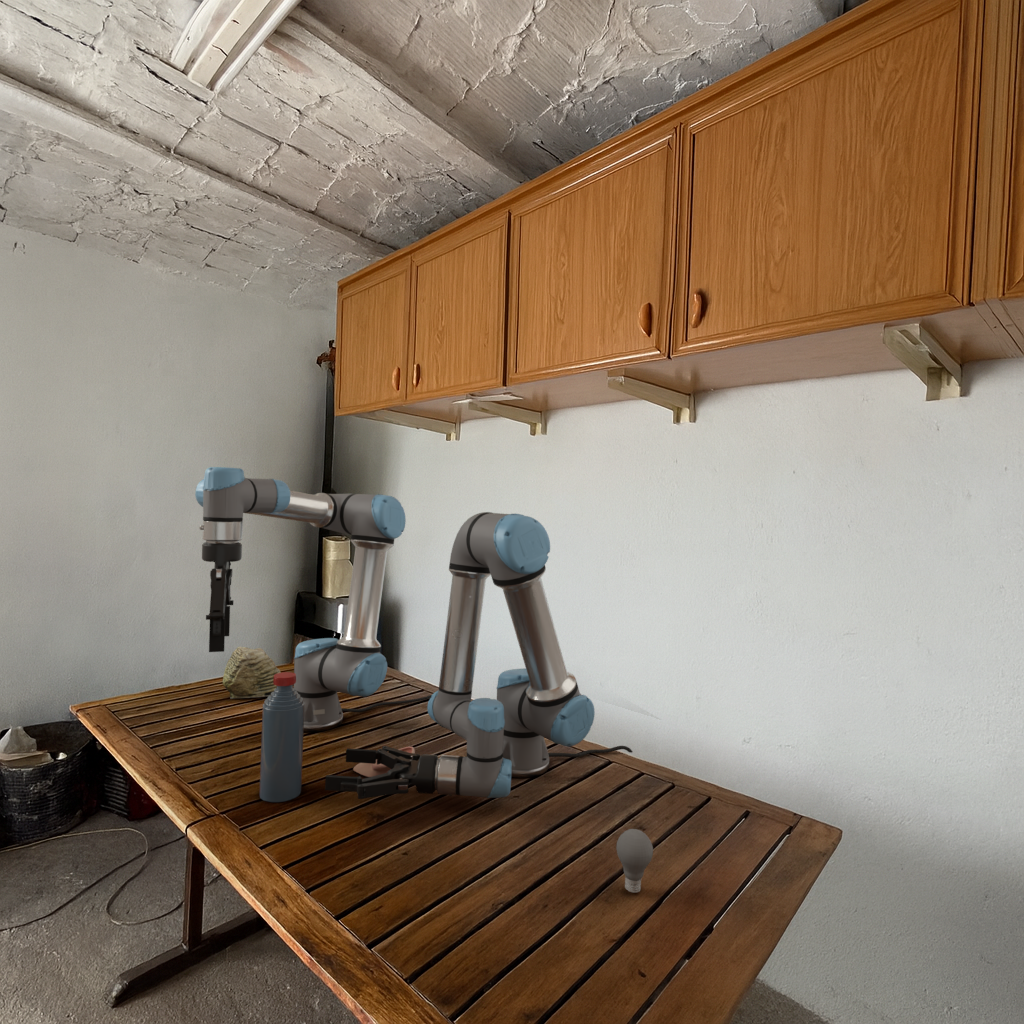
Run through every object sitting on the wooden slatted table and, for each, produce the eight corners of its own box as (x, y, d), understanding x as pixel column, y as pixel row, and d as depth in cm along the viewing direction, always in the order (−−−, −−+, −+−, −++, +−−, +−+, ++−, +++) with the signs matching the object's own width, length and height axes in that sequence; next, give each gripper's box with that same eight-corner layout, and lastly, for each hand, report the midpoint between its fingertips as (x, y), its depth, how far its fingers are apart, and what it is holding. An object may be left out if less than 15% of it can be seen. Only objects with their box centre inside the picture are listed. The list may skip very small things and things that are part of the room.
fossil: (218, 695, 195) (220, 647, 195) (278, 685, 208) (279, 640, 207) (228, 703, 189) (230, 653, 188) (289, 692, 201) (290, 645, 201)
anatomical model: (347, 757, 144) (369, 739, 156) (347, 774, 144) (368, 755, 156) (402, 764, 142) (420, 745, 153) (402, 782, 142) (419, 762, 153)
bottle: (250, 797, 132) (254, 679, 132) (277, 781, 140) (281, 669, 140) (283, 805, 129) (288, 684, 129) (309, 788, 137) (313, 674, 137)
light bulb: (610, 879, 108) (613, 822, 108) (644, 879, 109) (647, 822, 109) (619, 902, 102) (622, 840, 102) (655, 901, 103) (658, 840, 103)
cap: (268, 684, 133) (268, 676, 133) (283, 679, 137) (283, 671, 137) (286, 687, 131) (286, 679, 131) (300, 681, 136) (300, 673, 136)
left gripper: (208, 536, 142) (206, 631, 142) (194, 547, 118) (191, 659, 119) (245, 537, 144) (242, 629, 145) (238, 547, 121) (235, 657, 121)
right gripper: (426, 822, 119) (315, 815, 120) (445, 767, 144) (353, 761, 145) (427, 783, 119) (316, 776, 120) (446, 734, 144) (354, 729, 145)
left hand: (219, 643), depth 132 cm, fingers open, 13 cm apart
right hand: (336, 768), depth 133 cm, fingers open, 13 cm apart
